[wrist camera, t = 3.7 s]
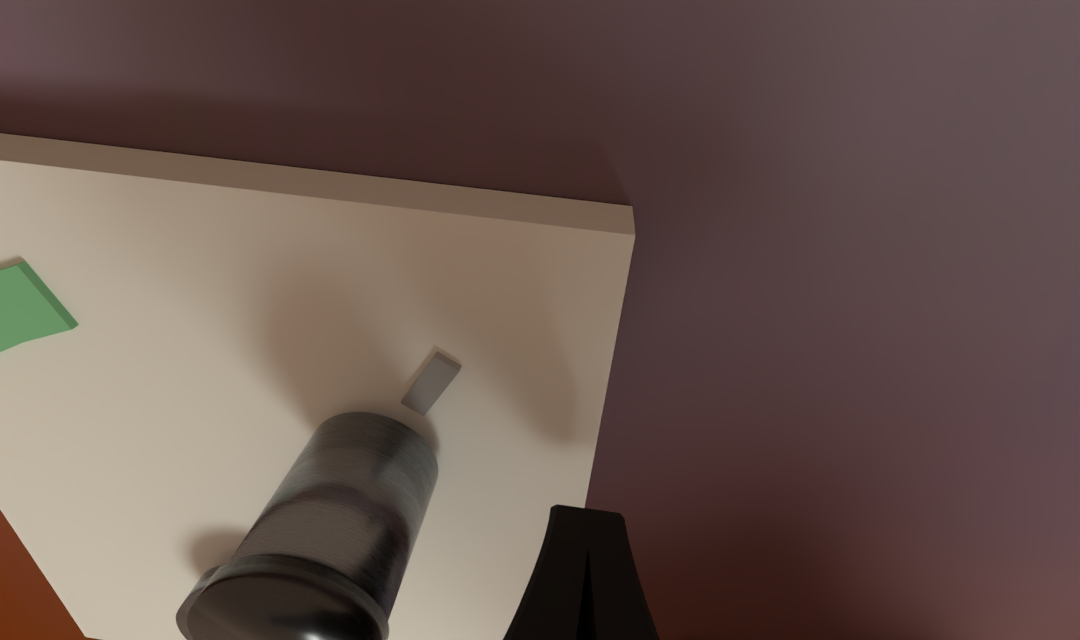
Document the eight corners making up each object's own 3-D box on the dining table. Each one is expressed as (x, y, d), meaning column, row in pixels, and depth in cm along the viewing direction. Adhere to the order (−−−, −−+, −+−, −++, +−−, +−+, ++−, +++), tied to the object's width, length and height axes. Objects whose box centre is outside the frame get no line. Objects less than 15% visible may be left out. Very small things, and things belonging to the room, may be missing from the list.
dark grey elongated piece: (301, 656, 18) (223, 822, 14) (183, 605, 17) (71, 769, 13) (483, 465, 12) (431, 660, 9) (322, 374, 11) (192, 550, 8)
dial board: (632, 206, 11) (635, 240, 9) (550, 666, 20) (545, 718, 19) (-160, 114, 12) (-268, 132, 10) (117, 597, 21) (80, 642, 20)
